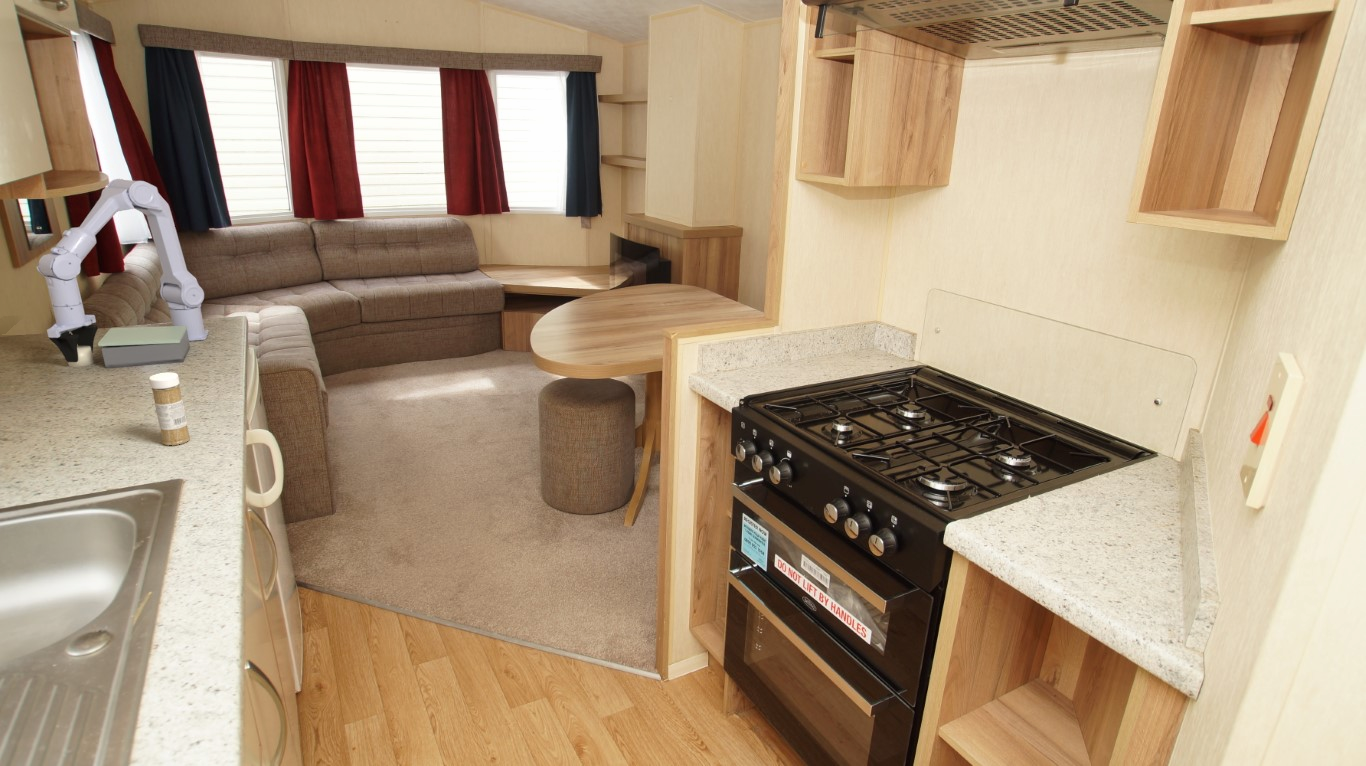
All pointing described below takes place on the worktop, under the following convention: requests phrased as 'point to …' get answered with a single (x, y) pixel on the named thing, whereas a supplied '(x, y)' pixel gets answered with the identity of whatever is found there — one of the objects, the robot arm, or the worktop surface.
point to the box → (145, 353)
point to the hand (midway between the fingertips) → (80, 358)
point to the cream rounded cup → (83, 357)
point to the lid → (143, 335)
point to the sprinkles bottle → (169, 408)
